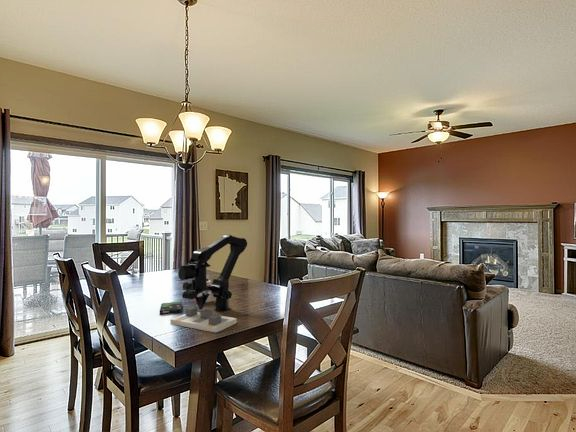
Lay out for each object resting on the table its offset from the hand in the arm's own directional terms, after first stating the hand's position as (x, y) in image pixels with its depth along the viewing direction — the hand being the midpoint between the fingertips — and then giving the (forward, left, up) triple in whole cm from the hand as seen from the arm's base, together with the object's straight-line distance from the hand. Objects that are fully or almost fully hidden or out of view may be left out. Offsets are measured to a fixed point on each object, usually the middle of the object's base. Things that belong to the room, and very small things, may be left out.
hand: (200, 309), depth 165 cm
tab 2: (+11, +18, -1) cm, 21 cm away
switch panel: (+8, +9, -3) cm, 13 cm away
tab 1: (+6, 0, -1) cm, 6 cm away
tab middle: (+6, +9, -1) cm, 11 cm away
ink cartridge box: (-21, -17, -3) cm, 27 cm away
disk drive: (-1, -20, -4) cm, 21 cm away
